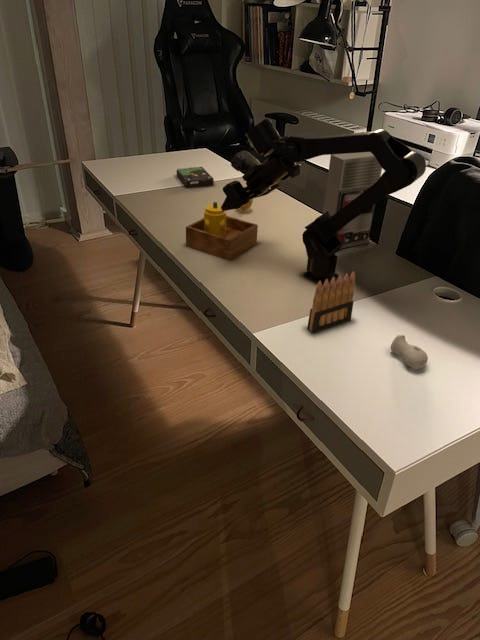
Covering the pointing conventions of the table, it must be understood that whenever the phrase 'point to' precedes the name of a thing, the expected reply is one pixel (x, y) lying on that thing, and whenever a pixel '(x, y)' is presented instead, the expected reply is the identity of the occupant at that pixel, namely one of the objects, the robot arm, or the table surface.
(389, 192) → the robot arm
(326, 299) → the ammunition clip
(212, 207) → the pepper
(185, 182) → the disk drive
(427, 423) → the table surface
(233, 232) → the wooden tray
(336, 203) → the labelled white carton
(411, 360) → the pale two-lobed sculpture
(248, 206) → the lemon
